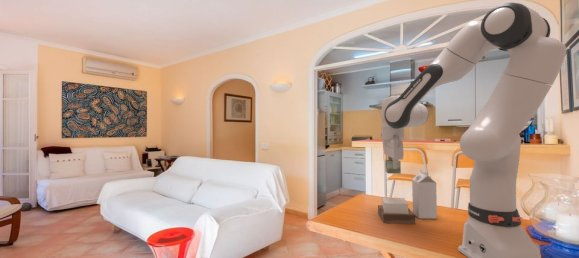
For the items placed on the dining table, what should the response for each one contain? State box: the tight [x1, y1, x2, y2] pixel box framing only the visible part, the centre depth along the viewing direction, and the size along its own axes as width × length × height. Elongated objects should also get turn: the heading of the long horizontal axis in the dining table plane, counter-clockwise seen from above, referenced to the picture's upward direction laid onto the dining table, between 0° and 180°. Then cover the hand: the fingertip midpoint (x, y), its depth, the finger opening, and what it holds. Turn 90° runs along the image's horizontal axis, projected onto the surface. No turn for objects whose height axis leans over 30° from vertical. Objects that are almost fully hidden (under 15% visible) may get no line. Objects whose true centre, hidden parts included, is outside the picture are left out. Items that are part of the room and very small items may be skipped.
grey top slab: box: [381, 196, 409, 214], centre depth 109 cm, size 9×9×4 cm
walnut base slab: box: [377, 204, 416, 225], centre depth 109 cm, size 12×12×4 cm
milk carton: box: [411, 169, 438, 220], centre depth 111 cm, size 7×7×19 cm
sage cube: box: [384, 159, 402, 175], centre depth 110 cm, size 5×5×5 cm
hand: (392, 167), depth 110 cm, fingers closed on sage cube, 5 cm apart
